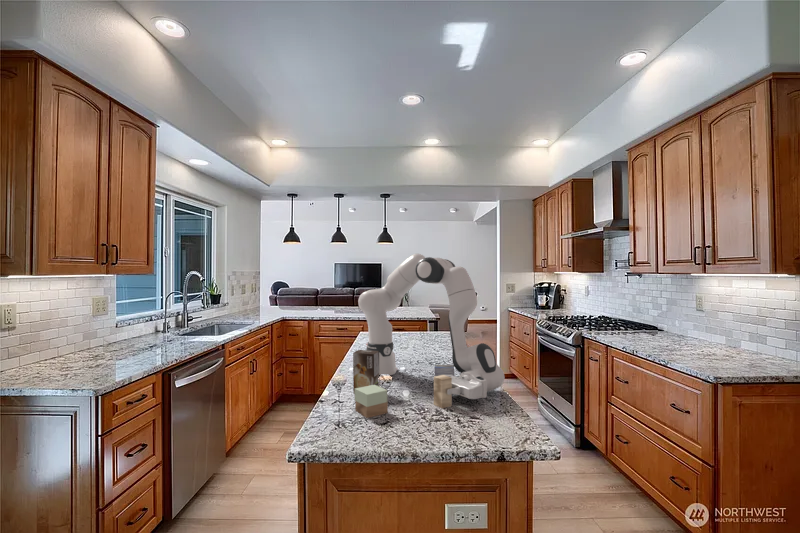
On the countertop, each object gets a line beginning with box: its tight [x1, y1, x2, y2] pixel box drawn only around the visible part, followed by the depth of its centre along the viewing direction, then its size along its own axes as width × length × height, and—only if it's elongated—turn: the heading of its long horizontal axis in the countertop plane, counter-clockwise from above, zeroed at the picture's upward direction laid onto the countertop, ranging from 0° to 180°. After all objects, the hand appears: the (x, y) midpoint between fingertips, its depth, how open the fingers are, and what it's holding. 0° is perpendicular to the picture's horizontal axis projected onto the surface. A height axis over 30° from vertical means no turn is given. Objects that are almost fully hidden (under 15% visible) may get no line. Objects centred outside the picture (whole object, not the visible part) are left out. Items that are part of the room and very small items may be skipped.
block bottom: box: [354, 400, 389, 419], centre depth 136 cm, size 8×8×4 cm
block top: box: [354, 385, 388, 407], centre depth 136 cm, size 8×8×4 cm
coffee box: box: [352, 349, 380, 395], centre depth 157 cm, size 9×6×16 cm
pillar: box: [433, 375, 453, 409], centre depth 142 cm, size 4×4×10 cm
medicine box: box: [434, 364, 455, 377], centre depth 164 cm, size 8×4×9 cm, turn 82°
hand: (441, 389), depth 142 cm, fingers closed on pillar, 4 cm apart
